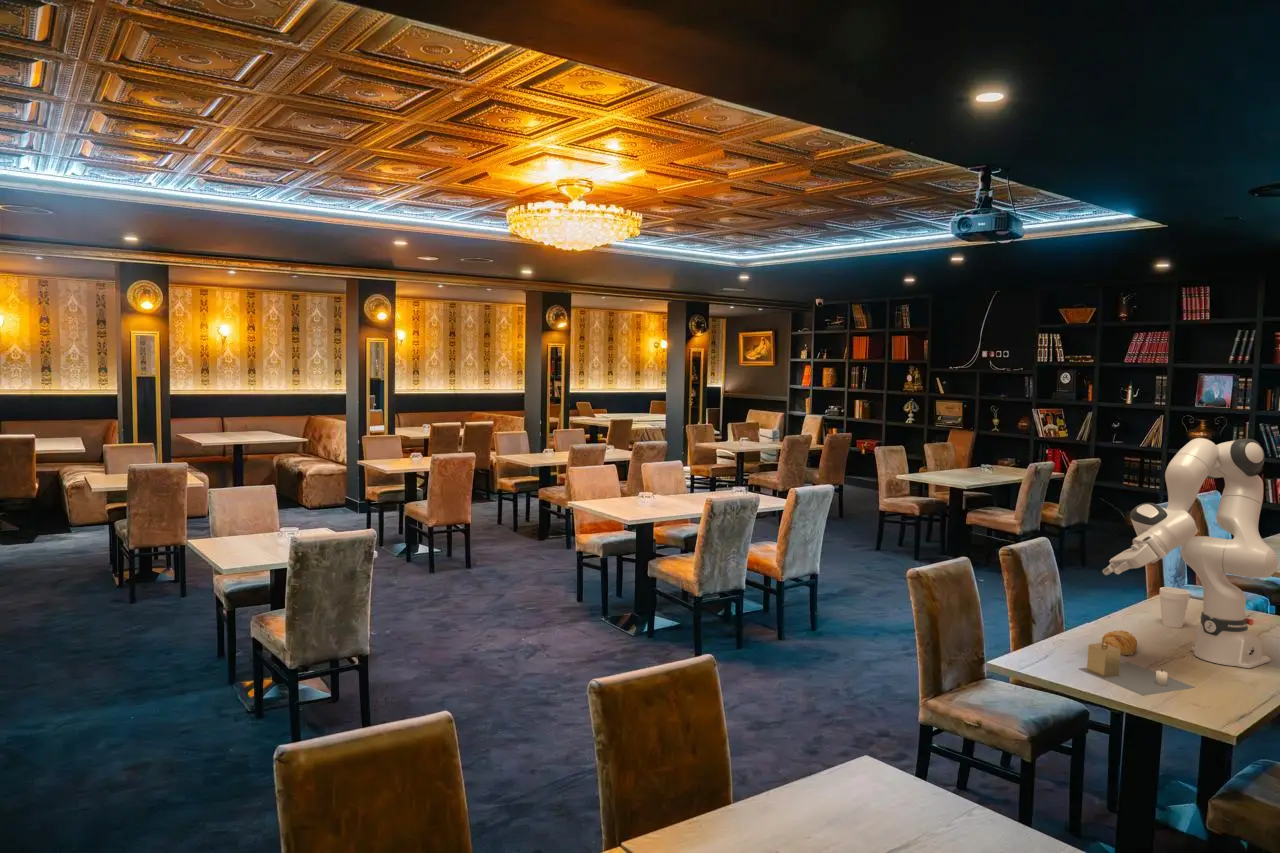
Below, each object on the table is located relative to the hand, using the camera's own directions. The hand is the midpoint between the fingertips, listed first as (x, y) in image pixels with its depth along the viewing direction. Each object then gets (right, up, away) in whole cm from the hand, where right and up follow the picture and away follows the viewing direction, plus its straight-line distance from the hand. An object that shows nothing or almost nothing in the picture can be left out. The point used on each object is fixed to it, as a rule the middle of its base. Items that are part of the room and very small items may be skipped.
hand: (1109, 572), depth 260 cm
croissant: (+12, -29, +17) cm, 36 cm away
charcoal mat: (+2, -30, -10) cm, 32 cm away
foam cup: (+49, -28, +47) cm, 73 cm away
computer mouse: (+7, -30, -14) cm, 34 cm away
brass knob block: (-6, -29, -6) cm, 30 cm away
